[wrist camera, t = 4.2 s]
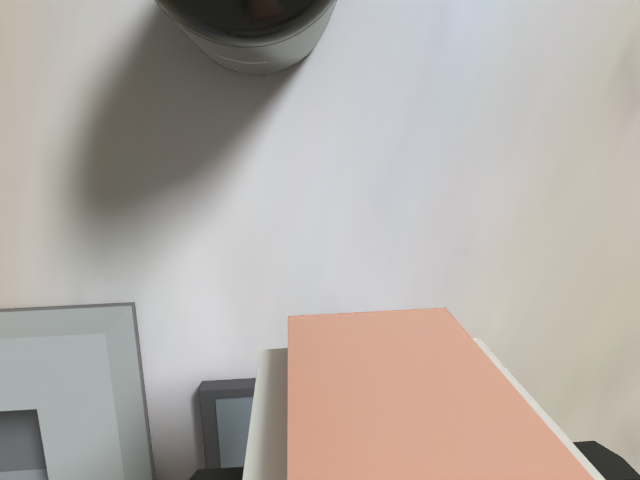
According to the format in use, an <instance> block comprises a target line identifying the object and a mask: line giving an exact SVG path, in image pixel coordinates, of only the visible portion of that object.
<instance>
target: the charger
mask: <svg viewBox="0 0 640 480" xmlns="http://www.w3.org/2000/svg"><path fill="white" fill-rule="evenodd" d="M287 480H594V478H593V477H592V476H591V475H590V474H589V473H588V472H587V470H586V469H585V468H584V467H583V466H582V465H581V463H580V462H579V461H578V460H577V459H576V458H575V457H574V455H573V454H572V453H571V452H570V451H569V450H568V448H567V447H566V446H565V445H564V444H563V443H562V442H561V440H560V439H559V438H558V437H557V436H556V435H555V433H554V432H553V431H552V430H551V429H550V428H549V426H548V425H547V424H546V423H545V422H544V421H543V420H542V418H541V417H540V416H539V415H538V414H537V413H536V411H535V410H534V409H533V408H532V407H531V406H530V405H529V403H528V402H527V401H526V400H525V399H524V398H523V396H522V395H521V394H520V393H519V392H518V391H517V390H516V388H515V387H514V386H513V385H512V384H511V383H510V381H509V380H508V379H507V378H506V377H505V376H504V375H503V373H502V372H501V371H500V370H499V369H498V368H497V366H496V365H495V364H494V363H493V362H492V361H491V360H490V358H489V357H488V356H487V355H486V354H485V353H484V351H483V350H482V349H481V348H480V347H479V346H478V345H477V343H476V342H475V341H474V340H473V339H472V338H471V336H470V335H469V334H468V333H467V332H466V331H465V330H464V328H463V327H462V326H461V325H460V324H459V323H458V321H457V320H456V319H455V318H454V317H453V316H452V315H451V313H450V312H449V311H448V310H447V309H446V308H429V309H411V310H392V311H374V312H355V313H337V314H318V315H300V316H288V424H287Z"/></svg>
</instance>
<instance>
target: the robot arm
mask: <svg viewBox="0 0 640 480" xmlns="http://www.w3.org/2000/svg"><path fill="white" fill-rule="evenodd" d="M472 339H473V340H474V341H475V342H476V343H477V345H478V346H479V347H480V348H481V349H482V350H483V351H484V353H485V354H486V355H487V356H488V357H489V358H490V360H491V361H492V362H493V363H494V364H495V365H496V366H497V368H498V369H499V370H500V371H501V372H502V373H503V375H504V376H505V377H506V378H507V379H508V380H509V381H510V383H511V384H512V385H513V386H514V387H515V388H516V390H517V391H518V392H519V393H520V394H521V395H522V396H523V398H524V399H525V400H526V401H527V402H528V403H529V405H530V406H531V407H532V408H533V409H534V410H535V411H536V413H537V414H538V415H539V416H540V417H541V418H542V420H543V421H544V422H545V423H546V424H547V425H548V426H549V428H550V429H551V430H552V431H553V432H554V433H555V435H556V436H557V437H558V438H559V439H560V440H561V442H562V443H563V444H564V445H565V446H566V447H567V448H568V450H569V451H570V452H571V453H572V454H573V455H574V457H575V458H576V459H577V460H578V461H579V462H580V463H581V465H582V466H583V467H584V468H585V469H586V470H587V472H588V473H589V474H590V475H591V476H592V477H593V478H594V480H640V475H639V474H638V473H637V472H636V471H635V470H634V469H633V468H632V467H631V466H630V465H629V464H628V463H627V462H626V461H625V460H624V459H623V458H622V457H620V456H619V455H617V454H615V453H614V452H612V451H610V450H609V449H607V448H605V447H604V446H602V445H600V444H599V443H597V442H595V441H585V442H571V440H570V439H569V438H568V437H567V436H566V435H565V434H564V433H563V431H562V430H561V429H560V428H559V427H558V426H557V425H556V424H555V423H554V421H553V420H552V419H551V418H550V417H549V416H548V415H547V414H546V412H545V411H544V410H543V409H542V408H541V407H540V406H539V405H538V404H537V402H536V401H535V400H534V399H533V398H532V397H531V396H530V395H529V393H528V392H527V391H526V390H525V389H524V388H523V387H522V386H521V384H520V383H519V382H518V381H517V380H516V379H515V378H514V377H513V376H512V374H511V373H510V372H509V371H508V370H507V369H506V368H505V367H504V365H503V364H502V363H501V362H500V361H499V360H498V359H497V358H496V357H495V355H494V354H493V353H492V352H491V351H490V350H489V349H488V348H487V346H486V345H485V344H484V343H483V342H482V341H481V340H480V339H479V338H472ZM287 424H288V348H284V349H267V350H260V353H259V360H258V367H257V375H256V382H255V390H254V397H253V405H252V412H251V420H250V427H249V434H248V442H247V449H246V457H245V464H244V467H229V468H215V469H200V470H197V471H196V472H195V474H194V475H193V476H192V477H191V478H190V480H287Z"/></svg>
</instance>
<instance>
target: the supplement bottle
mask: <svg viewBox="0 0 640 480" xmlns="http://www.w3.org/2000/svg"><path fill="white" fill-rule="evenodd" d="M155 2H156V3H157V4H158V5H159V6H160V7H161V8H162V10H163V11H164V12H165V13H166V14H167V15H168V16H169V17H170V18H171V19H172V20H173V21H174V22H175V23H176V24H177V25H178V26H179V27H180V29H181V30H182V31H183V32H184V33H185V34H186V35H187V36H188V37H189V38H190V39H191V40H192V41H193V42H194V43H195V44H196V45H197V46H198V47H199V48H200V49H201V50H202V51H203V52H204V53H205V54H206V55H208V56H209V57H210V58H211V59H213V60H214V61H216V62H217V63H219V64H220V65H222V66H224V67H226V68H229V69H231V70H234V71H237V72H240V73H245V74H253V75H264V74H272V73H276V72H279V71H282V70H285V69H287V68H289V67H291V66H293V65H295V64H296V63H298V62H299V61H301V60H302V59H303V58H304V57H306V56H307V55H308V54H309V53H310V52H311V51H312V49H313V48H314V47H315V46H316V44H317V43H318V42H319V40H320V38H321V37H322V35H323V33H324V31H325V29H326V27H327V25H328V23H329V20H330V18H331V15H332V13H333V10H334V8H335V5H336V3H337V0H155Z"/></svg>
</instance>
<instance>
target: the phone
mask: <svg viewBox="0 0 640 480" xmlns="http://www.w3.org/2000/svg"><path fill="white" fill-rule="evenodd" d="M255 382H256V378H251V379H234V380H216V381H202V384H201V387H200V389H199V397H200V408H201V419H202V430H203V440H204V451H205V462H206V469H215V468H229V467H244V464H245V457H246V449H247V442H248V434H249V427H250V420H251V412H252V405H253V397H254V390H255Z"/></svg>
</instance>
